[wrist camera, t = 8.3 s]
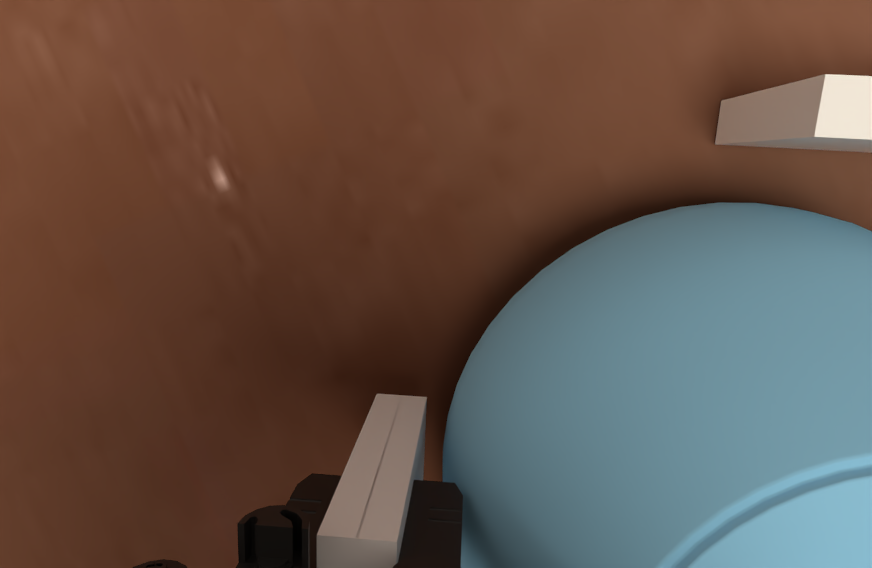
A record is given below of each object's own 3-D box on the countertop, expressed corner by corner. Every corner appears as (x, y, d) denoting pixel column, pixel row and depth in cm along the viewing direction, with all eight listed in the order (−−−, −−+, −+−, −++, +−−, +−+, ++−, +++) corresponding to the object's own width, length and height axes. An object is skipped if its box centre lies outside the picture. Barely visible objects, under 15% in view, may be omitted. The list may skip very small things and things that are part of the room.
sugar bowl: (692, 87, 16) (1177, -82, 5) (1042, 427, 18) (2056, 901, 6) (354, 444, 19) (181, 843, 8) (675, 713, 21) (918, 1385, 9)
